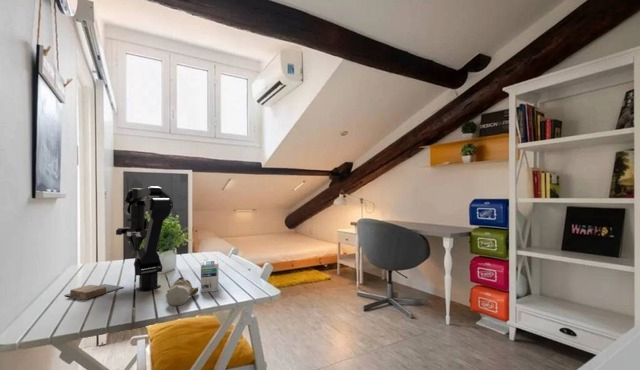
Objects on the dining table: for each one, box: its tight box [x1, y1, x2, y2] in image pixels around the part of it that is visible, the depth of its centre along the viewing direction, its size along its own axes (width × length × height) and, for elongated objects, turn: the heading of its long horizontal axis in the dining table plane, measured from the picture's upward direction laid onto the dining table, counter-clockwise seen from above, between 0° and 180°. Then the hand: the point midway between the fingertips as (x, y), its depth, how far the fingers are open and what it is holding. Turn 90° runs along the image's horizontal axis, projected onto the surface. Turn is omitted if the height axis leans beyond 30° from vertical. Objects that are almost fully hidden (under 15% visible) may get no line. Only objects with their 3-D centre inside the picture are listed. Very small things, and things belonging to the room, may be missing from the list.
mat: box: [64, 283, 124, 300], centre depth 114 cm, size 12×14×1 cm
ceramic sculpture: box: [165, 276, 199, 307], centre depth 105 cm, size 11×9×15 cm
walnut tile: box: [69, 284, 107, 300], centre depth 110 cm, size 2×7×9 cm
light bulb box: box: [200, 258, 219, 293], centre depth 119 cm, size 11×7×11 cm, turn 22°
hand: (136, 251), depth 129 cm, fingers closed
